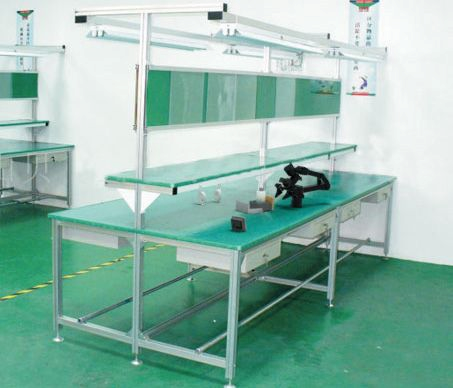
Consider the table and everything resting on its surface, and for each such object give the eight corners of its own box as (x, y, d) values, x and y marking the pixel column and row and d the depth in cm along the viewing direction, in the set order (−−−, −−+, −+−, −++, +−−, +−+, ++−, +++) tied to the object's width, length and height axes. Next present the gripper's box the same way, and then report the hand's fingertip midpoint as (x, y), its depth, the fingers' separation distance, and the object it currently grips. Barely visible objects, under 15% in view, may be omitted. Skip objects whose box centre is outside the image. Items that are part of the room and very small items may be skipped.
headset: (216, 201, 446) (217, 175, 443) (223, 202, 442) (224, 176, 439) (195, 204, 432) (196, 177, 429) (202, 206, 427) (203, 179, 424)
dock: (252, 208, 427) (252, 198, 426) (264, 212, 417) (265, 202, 415) (235, 209, 419) (236, 200, 418) (247, 213, 409) (248, 203, 408)
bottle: (264, 207, 425) (266, 187, 423) (264, 208, 419) (266, 188, 417) (255, 206, 425) (256, 186, 423) (255, 208, 420) (256, 188, 417)
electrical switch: (246, 230, 362) (246, 216, 360) (242, 233, 358) (242, 218, 356) (233, 228, 366) (233, 214, 364) (229, 230, 363) (229, 216, 360)
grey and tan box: (261, 206, 431) (262, 194, 429) (273, 210, 421) (274, 197, 420) (248, 208, 424) (248, 195, 423) (259, 211, 415) (260, 198, 413)
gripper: (277, 171, 438) (263, 188, 433) (295, 175, 423) (281, 193, 418) (285, 182, 444) (272, 199, 439) (304, 186, 428) (290, 204, 424)
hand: (278, 198), depth 430 cm, fingers open, 7 cm apart
